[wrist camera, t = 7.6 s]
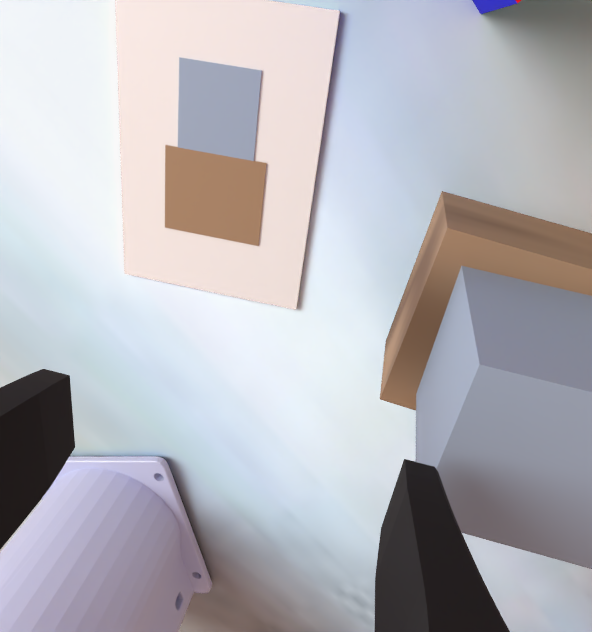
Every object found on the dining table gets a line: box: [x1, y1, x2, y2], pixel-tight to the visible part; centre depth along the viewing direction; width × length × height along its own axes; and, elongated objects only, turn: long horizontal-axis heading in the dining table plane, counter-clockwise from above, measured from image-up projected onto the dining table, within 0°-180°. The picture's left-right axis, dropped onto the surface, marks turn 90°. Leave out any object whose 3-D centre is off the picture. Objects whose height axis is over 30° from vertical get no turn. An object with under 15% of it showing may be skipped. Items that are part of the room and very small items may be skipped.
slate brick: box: [416, 266, 592, 569], centre depth 13 cm, size 4×4×5 cm
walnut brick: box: [380, 191, 592, 410], centre depth 17 cm, size 6×6×4 cm
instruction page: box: [115, 0, 340, 310], centre depth 18 cm, size 10×7×1 cm
